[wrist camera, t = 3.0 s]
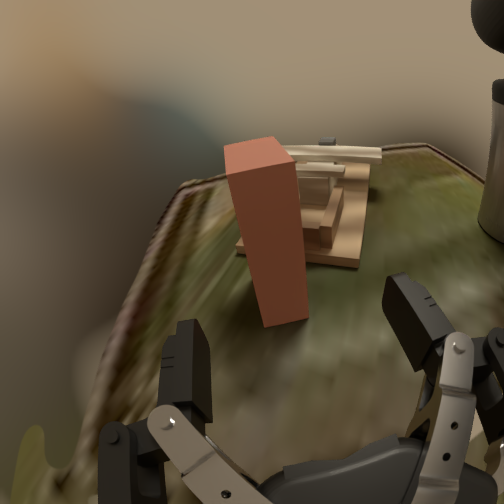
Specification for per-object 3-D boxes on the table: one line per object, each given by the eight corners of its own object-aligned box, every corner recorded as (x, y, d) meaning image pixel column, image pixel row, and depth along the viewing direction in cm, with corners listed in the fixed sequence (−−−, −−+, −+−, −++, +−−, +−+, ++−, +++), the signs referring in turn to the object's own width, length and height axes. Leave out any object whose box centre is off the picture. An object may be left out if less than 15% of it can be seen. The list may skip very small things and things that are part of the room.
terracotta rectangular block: (254, 275, 29) (223, 145, 21) (291, 267, 29) (272, 135, 21) (264, 327, 24) (226, 174, 15) (308, 317, 24) (294, 161, 15)
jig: (289, 165, 53) (284, 133, 49) (380, 169, 46) (380, 134, 42) (223, 251, 34) (208, 202, 30) (376, 270, 26) (383, 212, 22)
